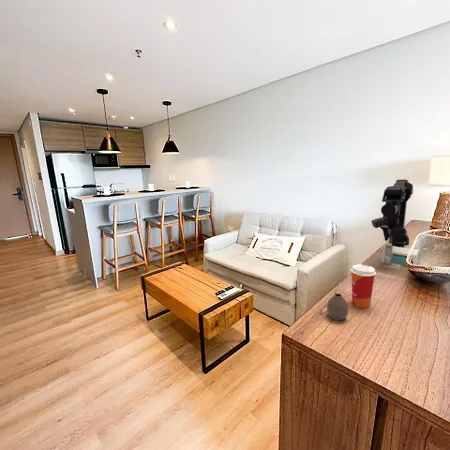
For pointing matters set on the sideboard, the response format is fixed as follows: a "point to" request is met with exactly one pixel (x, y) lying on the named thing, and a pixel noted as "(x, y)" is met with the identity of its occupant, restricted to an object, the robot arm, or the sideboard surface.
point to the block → (399, 259)
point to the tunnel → (403, 253)
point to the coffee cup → (362, 285)
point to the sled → (390, 258)
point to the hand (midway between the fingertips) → (389, 243)
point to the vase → (337, 307)
